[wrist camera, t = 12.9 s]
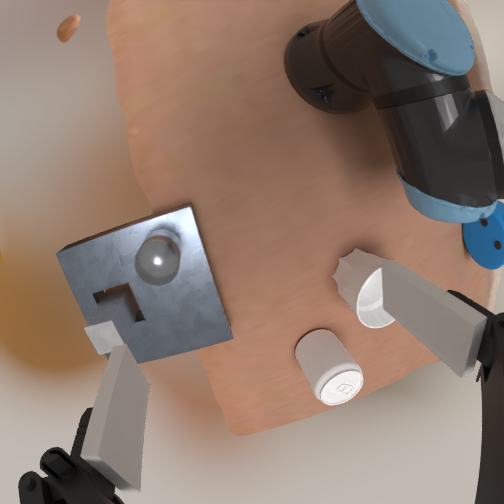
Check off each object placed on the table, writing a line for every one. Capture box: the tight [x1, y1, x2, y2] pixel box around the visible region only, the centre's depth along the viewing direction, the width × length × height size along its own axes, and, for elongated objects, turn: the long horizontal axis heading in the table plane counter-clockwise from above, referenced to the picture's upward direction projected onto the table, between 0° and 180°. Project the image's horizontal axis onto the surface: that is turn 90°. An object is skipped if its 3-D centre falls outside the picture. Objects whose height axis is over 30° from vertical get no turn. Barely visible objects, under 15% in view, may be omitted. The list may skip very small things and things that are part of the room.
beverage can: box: [295, 329, 363, 405], centre depth 45 cm, size 8×8×12 cm
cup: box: [332, 248, 404, 328], centre depth 43 cm, size 10×10×10 cm
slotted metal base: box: [56, 203, 233, 364], centre depth 37 cm, size 20×20×10 cm
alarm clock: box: [463, 201, 504, 269], centre depth 43 cm, size 13×6×15 cm, turn 19°
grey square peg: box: [84, 282, 139, 355], centre depth 36 cm, size 4×4×12 cm
